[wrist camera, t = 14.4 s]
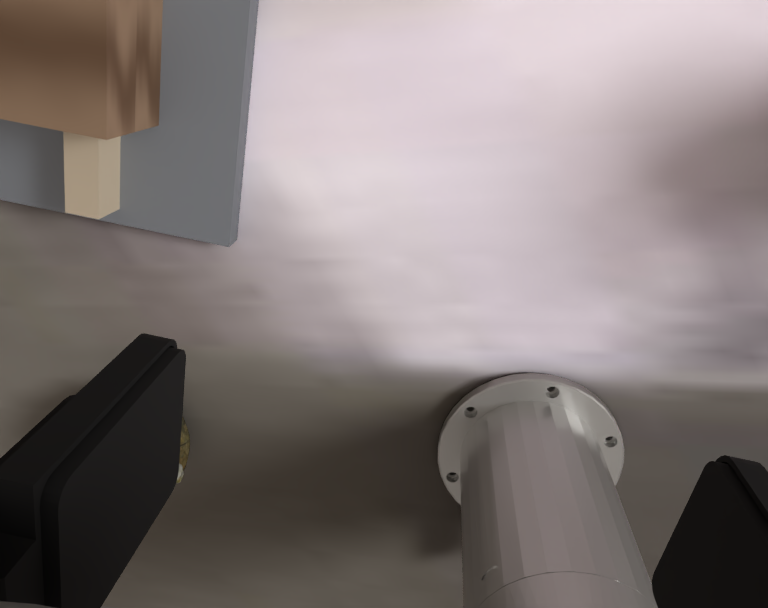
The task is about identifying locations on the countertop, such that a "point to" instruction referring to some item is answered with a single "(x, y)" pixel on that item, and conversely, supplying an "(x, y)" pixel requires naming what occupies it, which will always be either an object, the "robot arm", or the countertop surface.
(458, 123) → the countertop surface
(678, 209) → the countertop surface
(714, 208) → the countertop surface
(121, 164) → the cleat board
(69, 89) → the saddle block
